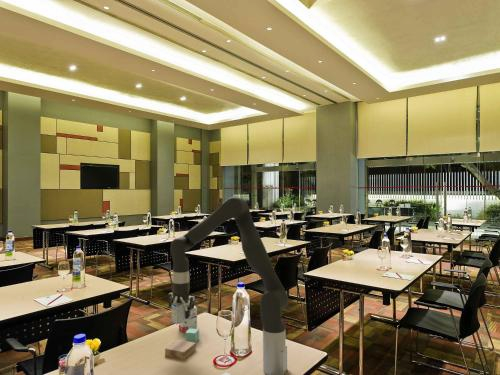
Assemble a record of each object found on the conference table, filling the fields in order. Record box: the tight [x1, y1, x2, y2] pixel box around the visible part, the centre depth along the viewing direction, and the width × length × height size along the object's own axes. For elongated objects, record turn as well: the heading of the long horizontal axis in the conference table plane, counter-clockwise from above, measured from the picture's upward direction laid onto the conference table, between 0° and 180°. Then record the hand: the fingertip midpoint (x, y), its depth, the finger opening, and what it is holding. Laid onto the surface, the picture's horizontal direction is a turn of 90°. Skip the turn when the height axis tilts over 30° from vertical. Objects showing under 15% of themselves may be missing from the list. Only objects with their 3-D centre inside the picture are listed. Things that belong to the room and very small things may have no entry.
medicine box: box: [171, 301, 191, 325], centre depth 165 cm, size 8×4×9 cm, turn 134°
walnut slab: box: [164, 339, 197, 360], centre depth 165 cm, size 10×10×4 cm
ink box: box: [178, 305, 198, 333], centre depth 191 cm, size 8×5×12 cm, turn 123°
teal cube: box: [184, 328, 200, 344], centre depth 177 cm, size 5×5×5 cm
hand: (181, 317), depth 165 cm, fingers closed on medicine box, 5 cm apart
